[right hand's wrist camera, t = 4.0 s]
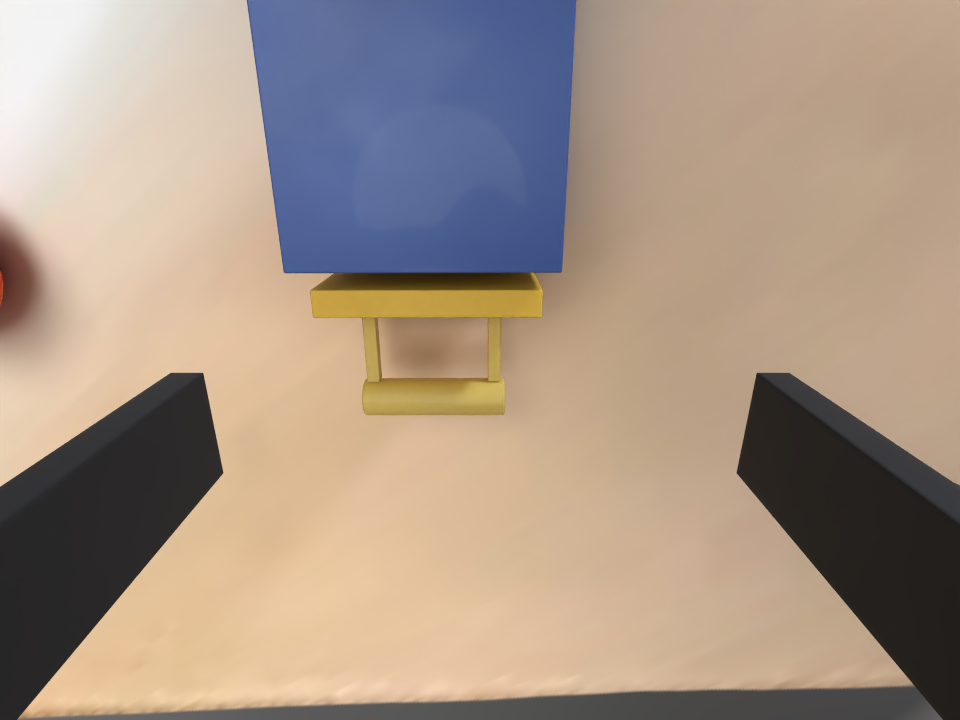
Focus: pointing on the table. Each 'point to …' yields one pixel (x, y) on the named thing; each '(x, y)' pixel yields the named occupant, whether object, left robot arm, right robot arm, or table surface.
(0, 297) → the apple
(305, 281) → the table surface
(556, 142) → the cabinet
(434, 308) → the drawer
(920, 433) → the table surface
